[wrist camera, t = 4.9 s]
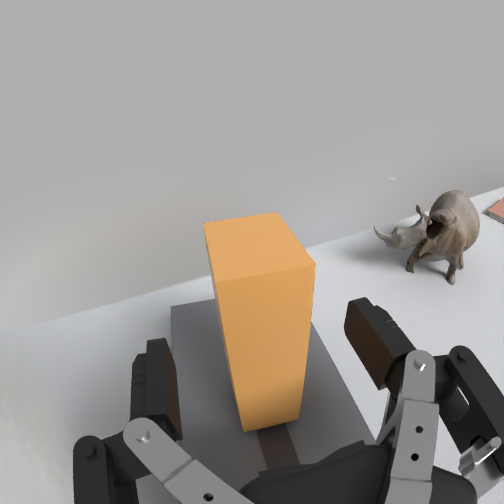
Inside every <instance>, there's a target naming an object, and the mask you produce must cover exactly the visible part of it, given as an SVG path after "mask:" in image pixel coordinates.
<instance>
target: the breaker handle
mask: <svg viewBox="0 0 504 504" xmlns="http://www.w3.org/2000/svg"><path fill="white" fill-rule="evenodd" d="M203 226H204V232H205V239H206V246H207V252H208V258H209V264H210V271H211V277H212V283H213V289H214V294H215V300H216V306H217V312H218V317H219V323H220V328H221V333H222V339H223V344H224V349H225V354H226V359H227V364H228V369H229V374H230V379H231V383H232V387H233V391H234V395H235V400H236V404H237V408H238V412H239V416H240V420H241V424H242V428H243V431H244V432H248V431H252V430H257V429H261V428H266V427H270V426H274V425H278V424H282V423H286V422H289V421H293V420H297V419H299V414H300V407H301V400H302V393H303V386H304V378H305V370H306V362H307V354H308V345H309V335H310V326H311V315H312V304H313V292H314V280H315V265H316V264H315V262H314V261H313V260H312V258H311V257H310V256H309V254H308V253H307V252H306V250H305V249H304V248H303V246H302V245H301V244H300V242H299V241H298V240H297V238H296V237H295V236H294V234H293V233H292V232H291V230H290V229H289V228H288V226H287V225H286V224H285V223H284V221H283V220H282V219H281V218H280V216H279V215H278V213H277V212H274V213H267V214H261V215H253V216H246V217H240V218H233V219H227V220H221V221H214V222H208V223H203Z"/></svg>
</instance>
